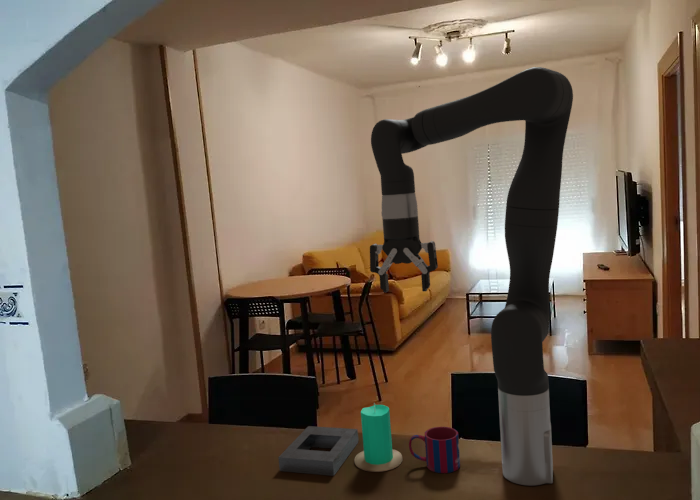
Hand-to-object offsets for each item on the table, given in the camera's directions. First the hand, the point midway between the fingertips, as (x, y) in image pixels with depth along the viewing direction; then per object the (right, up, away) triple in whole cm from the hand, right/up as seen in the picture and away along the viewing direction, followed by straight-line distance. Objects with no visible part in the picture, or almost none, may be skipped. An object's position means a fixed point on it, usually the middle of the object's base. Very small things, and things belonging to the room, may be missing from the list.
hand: (405, 291), depth 129 cm
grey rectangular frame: (-18, -36, +1) cm, 40 cm away
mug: (+5, -35, -7) cm, 36 cm away
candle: (-6, -35, -3) cm, 35 cm away
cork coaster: (-6, -35, -3) cm, 36 cm away
